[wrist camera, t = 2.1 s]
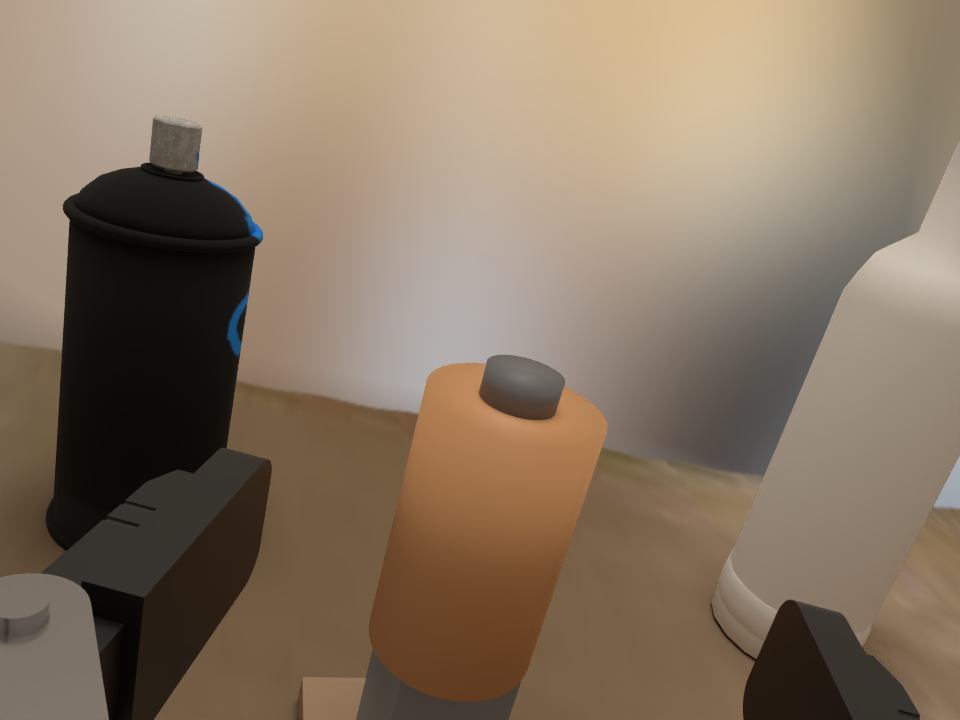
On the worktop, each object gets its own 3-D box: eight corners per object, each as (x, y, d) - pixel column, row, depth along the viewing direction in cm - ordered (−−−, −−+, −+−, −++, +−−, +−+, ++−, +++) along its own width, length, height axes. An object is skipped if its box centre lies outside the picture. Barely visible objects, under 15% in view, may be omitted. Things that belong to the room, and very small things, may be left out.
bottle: (769, 691, 38) (1065, 74, 28) (682, 588, 45) (895, 62, 35) (880, 679, 41) (1182, 121, 31) (783, 585, 48) (1005, 102, 38)
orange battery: (377, 701, 22) (454, 400, 19) (362, 579, 27) (420, 324, 24) (551, 702, 24) (649, 425, 21) (505, 586, 29) (578, 349, 26)
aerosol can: (77, 585, 33) (110, 126, 27) (24, 490, 38) (41, 86, 32) (249, 541, 39) (312, 154, 32) (183, 463, 44) (225, 116, 37)
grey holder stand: (300, 904, 23) (340, 736, 21) (297, 700, 30) (327, 557, 28) (538, 886, 26) (598, 733, 23) (484, 700, 33) (525, 568, 30)
